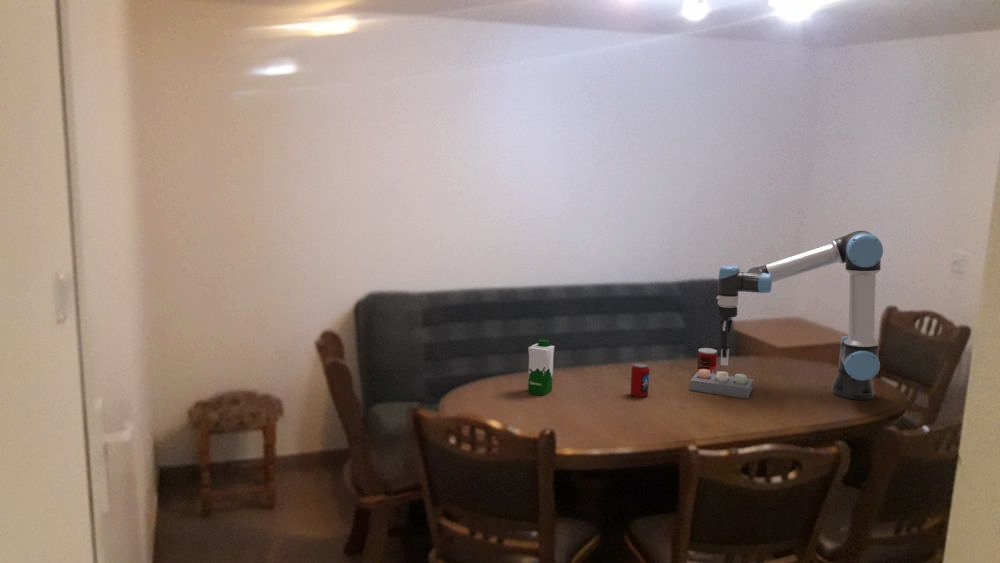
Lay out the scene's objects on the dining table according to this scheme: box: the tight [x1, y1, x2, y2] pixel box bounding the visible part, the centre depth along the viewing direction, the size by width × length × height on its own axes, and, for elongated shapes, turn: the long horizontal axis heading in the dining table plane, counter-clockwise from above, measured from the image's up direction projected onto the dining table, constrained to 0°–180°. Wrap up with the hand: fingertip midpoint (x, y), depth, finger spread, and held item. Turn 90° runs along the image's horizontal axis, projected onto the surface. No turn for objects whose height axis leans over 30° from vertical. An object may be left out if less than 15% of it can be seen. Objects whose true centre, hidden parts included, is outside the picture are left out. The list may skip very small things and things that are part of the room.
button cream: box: [716, 370, 729, 382], centre depth 305 cm, size 4×4×5 cm
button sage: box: [734, 373, 747, 385], centre depth 303 cm, size 4×4×5 cm
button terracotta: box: [698, 369, 710, 380], centre depth 308 cm, size 4×4×5 cm
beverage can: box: [630, 362, 651, 398], centre depth 296 cm, size 7×7×12 cm
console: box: [689, 371, 754, 400], centre depth 306 cm, size 22×14×4 cm, turn 65°
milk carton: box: [527, 338, 555, 396], centre depth 296 cm, size 9×9×20 cm
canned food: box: [696, 347, 718, 374], centre depth 324 cm, size 8×8×11 cm
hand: (724, 364), depth 304 cm, fingers closed
